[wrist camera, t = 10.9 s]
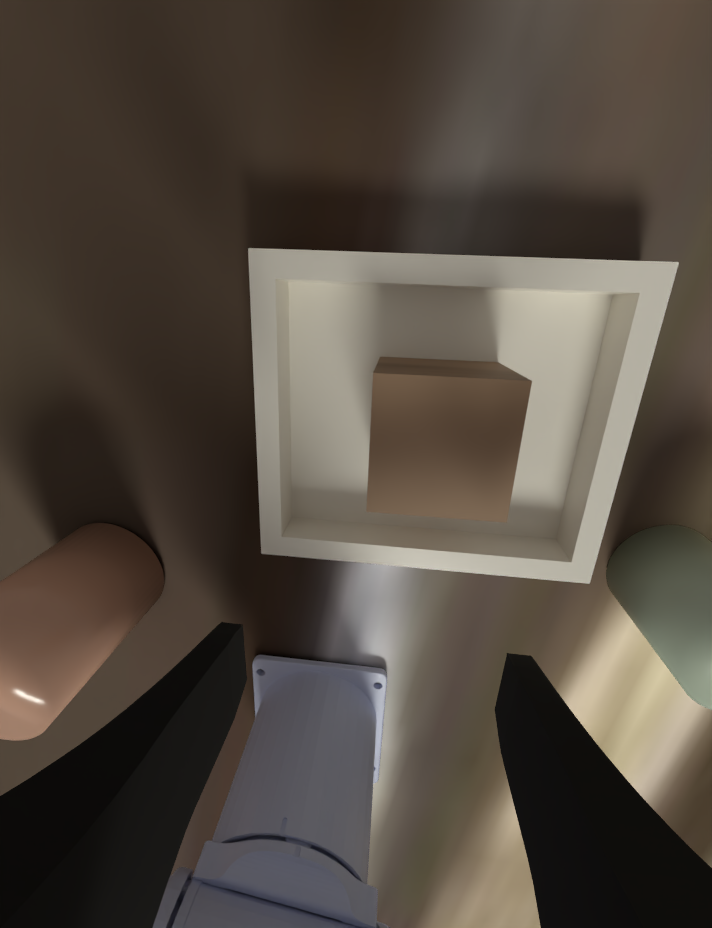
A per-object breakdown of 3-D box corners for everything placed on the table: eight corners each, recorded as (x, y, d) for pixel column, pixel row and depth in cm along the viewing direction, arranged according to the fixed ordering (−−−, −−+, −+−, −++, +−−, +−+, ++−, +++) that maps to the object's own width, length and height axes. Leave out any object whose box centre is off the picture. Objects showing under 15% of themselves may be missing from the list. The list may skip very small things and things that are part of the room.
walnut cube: (481, 471, 20) (506, 522, 15) (374, 464, 20) (366, 511, 15) (498, 362, 18) (532, 380, 13) (380, 356, 18) (373, 372, 14)
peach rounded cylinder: (177, 609, 25) (74, 741, 17) (89, 612, 26) (-43, 738, 18) (143, 519, 23) (11, 626, 15) (49, 526, 24) (-117, 629, 16)
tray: (569, 553, 21) (589, 583, 19) (275, 528, 22) (261, 553, 20) (640, 268, 17) (678, 262, 14) (267, 256, 18) (248, 247, 16)
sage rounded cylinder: (696, 615, 22) (799, 721, 16) (595, 605, 22) (661, 706, 17) (730, 529, 20) (859, 615, 14) (620, 520, 20) (703, 600, 15)
